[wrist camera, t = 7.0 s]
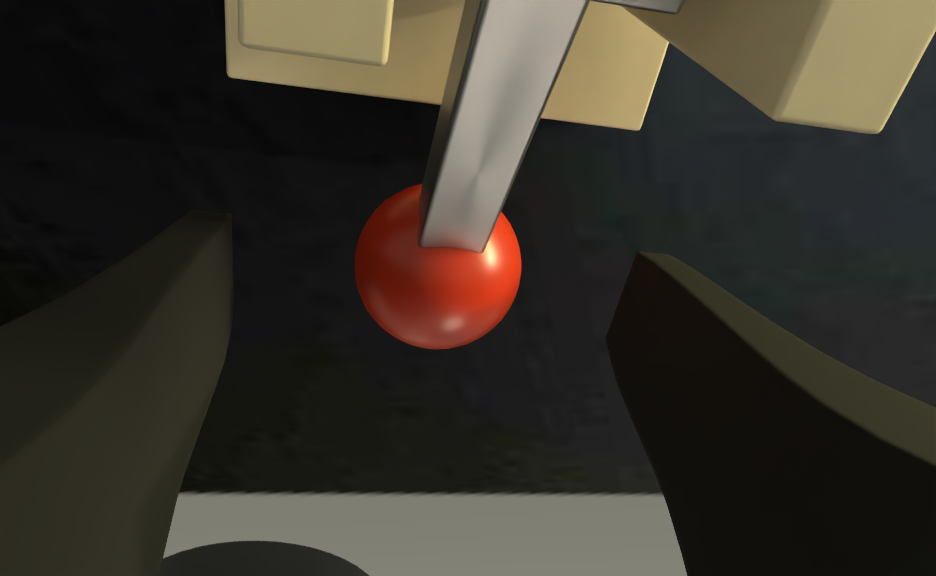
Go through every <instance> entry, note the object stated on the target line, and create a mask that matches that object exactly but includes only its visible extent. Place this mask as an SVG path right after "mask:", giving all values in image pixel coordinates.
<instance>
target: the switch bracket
mask: <svg viewBox="0 0 936 576" xmlns="http://www.w3.org/2000/svg"><path fill="white" fill-rule="evenodd" d="M464 4H465V0H225V32H226V64H227V75H228V76H229V77H231V78H237V79H245V80H253V81H260V82H268V83H276V84H283V85H291V86H299V87H306V88H314V89H322V90H329V91H337V92H345V93H352V94H360V95H368V96H375V97H383V98H391V99H399V100H406V101H414V102H422V103H429V104H437V105H441V103H442V98H443V94H444V90H445V86H446V81H447V77H448V73H449V68H450V64H451V60H452V56H453V51H454V47H455V43H456V38H457V34H458V30H459V26H460V21H461V17H462V13H463V8H464ZM935 31H936V0H686V1H685V3H684V5H683V7H682V8H681V10H680V11H679V12H678V13H677V14H667V13H661V12H655V11H649V10H643V9H637V8H631V7H625V6H619V5H613V4H607V3H601V2H595V1H590V2H589V5H588V7H587V9H586V12H585V14H584V17H583V19H582V21H581V24H580V26H579V28H578V31H577V33H576V35H575V38H574V40H573V43H572V45H571V47H570V50H569V52H568V54H567V57H566V59H565V61H564V64H563V66H562V69H561V71H560V73H559V76H558V78H557V80H556V83H555V85H554V87H553V90H552V92H551V95H550V97H549V99H548V102H547V104H546V106H545V109H544V111H543V113H542V116H541V118H544V119H552V120H560V121H567V122H575V123H583V124H590V125H598V126H606V127H614V128H621V129H629V130H640V128H641V125H642V122H643V119H644V116H645V113H646V110H647V107H648V104H649V101H650V98H651V95H652V92H653V89H654V86H655V83H656V80H657V77H658V74H659V71H660V68H661V65H662V62H663V59H664V56H665V53H666V49H667V46H668V43H669V42H670V43H671V44H672V45H674V46H675V47H676V48H678V49H679V50H681V51H682V52H683V53H685V54H686V55H687V56H689V57H690V58H691V59H693V60H694V61H695V62H697V63H698V64H699V65H701V66H702V67H703V68H705V69H706V70H707V71H709V72H710V73H711V74H713V75H714V76H715V77H717V78H718V79H719V80H721V81H722V82H724V83H725V84H726V85H728V86H729V87H730V88H732V89H733V90H734V91H736V92H737V93H738V94H740V95H741V96H742V97H744V98H745V99H746V100H748V101H749V102H750V103H752V104H753V105H754V106H756V107H757V108H758V109H760V110H761V111H762V112H764V113H765V114H767V115H768V116H769V117H771V118H772V119H773V120H775V121H780V122H787V123H795V124H802V125H809V126H816V127H823V128H830V129H838V130H845V131H852V132H859V133H866V134H876V133H879V132H880V131H881V130H882V129H883V127H884V125H885V123H886V122H887V120H888V118H889V116H890V114H891V112H892V110H893V109H894V107H895V105H896V103H897V101H898V99H899V98H900V96H901V94H902V92H903V90H904V88H905V86H906V85H907V83H908V81H909V79H910V77H911V75H912V74H913V72H914V70H915V68H916V66H917V64H918V62H919V61H920V59H921V57H922V55H923V53H924V51H925V50H926V48H927V46H928V44H929V42H930V40H931V38H932V37H933V35H934V33H935Z"/></svg>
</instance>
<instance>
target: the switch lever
mask: <svg viewBox="0 0 936 576" xmlns="http://www.w3.org/2000/svg"><path fill="white" fill-rule="evenodd" d="M590 1H595V2H601V3H607V4H613V5H619V6H625V7H631V8H637V9H643V10H649V11H655V12H661V13H667V14H677V13H678V12H679V11H680V10H681V8H682V7H683V5H684V3H685V1H686V0H465V4H464V8H463V13H462V17H461V21H460V26H459V30H458V34H457V38H456V43H455V47H454V51H453V56H452V60H451V64H450V68H449V73H448V77H447V81H446V86H445V90H444V94H443V98H442V103H441V107H440V111H439V116H438V120H437V124H436V128H435V133H434V137H433V141H432V146H431V150H430V154H429V158H428V163H427V167H426V171H425V176H424V180H423V184H419V185H415V186H412V187H409V188H406V189H404V190H402V191H400V192H398V193H396V194H394V195H393V196H391V197H390V198H388V199H387V200H386V201H385V202H383V203H382V204H381V205H380V206H379V207H378V208H377V209H376V210H375V211H374V213H373V214H372V215H371V217H370V218H369V219H368V221H367V222H366V224H365V226H364V228H363V230H362V232H361V234H360V237H359V240H358V243H357V247H356V253H355V279H356V284H357V288H358V291H359V294H360V297H361V299H362V301H363V303H364V305H365V307H366V309H367V311H368V312H369V313H370V315H371V316H372V317H373V319H374V320H375V321H376V322H377V323H378V324H379V325H380V326H381V327H382V328H383V329H384V330H385V331H387V332H388V333H390V334H391V335H392V336H394V337H395V338H397V339H399V340H401V341H404V342H406V343H408V344H411V345H414V346H418V347H422V348H428V349H448V348H454V347H458V346H462V345H465V344H468V343H470V342H473V341H475V340H477V339H479V338H480V337H482V336H483V335H485V334H486V333H488V332H489V331H490V330H492V329H493V328H494V327H495V326H496V325H497V324H498V323H499V322H500V321H501V320H502V318H503V317H504V316H505V314H506V313H507V311H508V310H509V309H510V307H511V305H512V303H513V301H514V298H515V296H516V293H517V290H518V287H519V282H520V275H521V256H520V249H519V245H518V242H517V238H516V236H515V233H514V231H513V229H512V227H511V225H510V223H509V222H508V220H507V219H506V217H505V216H504V214H503V213H502V212H501V210H502V208H503V206H504V203H505V201H506V199H507V196H508V194H509V191H510V189H511V187H512V184H513V182H514V180H515V177H516V175H517V173H518V170H519V168H520V165H521V163H522V161H523V158H524V156H525V154H526V151H527V149H528V147H529V144H530V142H531V139H532V137H533V135H534V132H535V130H536V128H537V125H538V123H539V121H540V118H541V116H542V113H543V111H544V109H545V106H546V104H547V102H548V99H549V97H550V95H551V92H552V90H553V87H554V85H555V83H556V80H557V78H558V76H559V73H560V71H561V69H562V66H563V64H564V61H565V59H566V57H567V54H568V52H569V50H570V47H571V45H572V43H573V40H574V38H575V35H576V33H577V31H578V28H579V26H580V24H581V21H582V19H583V17H584V14H585V12H586V9H587V7H588V5H589V2H590Z"/></svg>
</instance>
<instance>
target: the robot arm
mask: <svg viewBox="0 0 936 576" xmlns="http://www.w3.org/2000/svg"><path fill="white" fill-rule="evenodd" d="M233 317H234V288H233V255H232V222H231V214H227V213H216V212H205V211H194V210H192V211H191V212H189V213H187V214H186V215H184V216H183V217H182V218H180V219H179V220H177V221H176V222H175V223H173V224H172V225H171V226H169V227H168V228H166V229H165V230H164V231H162V232H161V233H160V234H158V235H157V236H155V237H154V238H153V239H151V240H150V241H148V242H147V243H145V244H144V245H143V246H141V247H140V248H138V249H137V250H135V251H134V252H132V253H131V254H130V255H128V256H127V257H125V258H124V259H122V260H121V261H119V262H118V263H116V264H115V265H113V266H111V267H110V268H108V269H106V270H105V271H103V272H101V273H100V274H98V275H96V276H95V277H93V278H92V279H90V280H88V281H87V282H85V283H83V284H82V285H80V286H78V287H77V288H75V289H74V290H72V291H70V292H68V293H67V294H65V295H63V296H61V297H59V298H57V299H56V300H54V301H52V302H50V303H48V304H46V305H44V306H42V307H40V308H38V309H36V310H34V311H32V312H30V313H28V314H26V315H24V316H21V317H19V318H17V319H15V320H13V321H11V322H9V323H7V324H5V325H2V326H0V576H159V573H160V568H161V564H162V560H163V555H164V551H165V547H166V542H167V538H168V533H169V530H170V525H171V521H172V517H173V513H174V508H175V505H176V501H177V497H178V493H179V490H180V487H181V483H182V480H183V477H184V474H185V471H186V468H187V465H188V462H189V460H190V457H191V454H192V451H193V448H194V446H195V443H196V440H197V437H198V435H199V432H200V429H201V426H202V424H203V421H204V418H205V415H206V412H207V410H208V407H209V404H210V401H211V399H212V396H213V393H214V390H215V387H216V384H217V382H218V379H219V376H220V373H221V370H222V367H223V364H224V361H225V356H226V352H227V347H228V342H229V338H230V333H231V327H232V322H233ZM606 341H607V345H608V350H609V354H610V358H611V363H612V366H613V370H614V374H615V377H616V381H617V384H618V387H619V389H620V392H621V394H622V397H623V399H624V402H625V404H626V406H627V409H628V411H629V414H630V416H631V418H632V421H633V423H634V425H635V428H636V430H637V433H638V435H639V437H640V440H641V442H642V444H643V447H644V449H645V451H646V454H647V456H648V458H649V461H650V463H651V465H652V468H653V470H654V472H655V475H656V477H657V479H658V482H659V484H660V487H661V490H662V492H663V495H664V497H665V500H666V503H667V506H668V509H669V513H670V516H671V519H672V523H673V526H674V529H675V533H676V536H677V540H678V543H679V546H680V549H681V553H682V557H683V560H684V564H685V568H686V572H687V576H936V408H935V407H932V406H930V405H928V404H926V403H923V402H921V401H919V400H917V399H914V398H912V397H910V396H908V395H905V394H903V393H901V392H899V391H896V390H894V389H892V388H890V387H888V386H886V385H884V384H882V383H879V382H877V381H875V380H873V379H871V378H869V377H867V376H865V375H863V374H862V373H860V372H858V371H856V370H854V369H852V368H850V367H848V366H846V365H844V364H843V363H841V362H839V361H837V360H835V359H833V358H831V357H829V356H828V355H826V354H824V353H822V352H821V351H819V350H817V349H815V348H814V347H812V346H810V345H809V344H807V343H805V342H804V341H802V340H800V339H799V338H797V337H796V336H794V335H792V334H791V333H789V332H787V331H786V330H784V329H783V328H781V327H779V326H778V325H776V324H775V323H773V322H772V321H770V320H769V319H767V318H766V317H764V316H762V315H761V314H759V313H758V312H756V311H755V310H753V309H752V308H751V307H749V306H748V305H746V304H745V303H743V302H742V301H740V300H739V299H737V298H736V297H734V296H733V295H731V294H730V293H728V292H727V291H726V290H724V289H723V288H721V287H720V286H718V285H717V284H715V283H714V282H712V281H711V280H709V279H708V278H706V277H705V276H703V275H702V274H700V273H699V272H697V271H696V270H694V269H693V268H691V267H690V266H688V265H686V264H685V263H683V262H681V261H680V260H678V259H676V258H674V257H672V256H670V255H668V254H659V253H648V252H637V253H636V256H635V259H634V262H633V264H632V267H631V270H630V273H629V275H628V278H627V281H626V284H625V286H624V289H623V292H622V295H621V297H620V300H619V303H618V306H617V308H616V311H615V314H614V317H613V319H612V322H611V325H610V328H609V331H608V333H607V336H606Z"/></svg>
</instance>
